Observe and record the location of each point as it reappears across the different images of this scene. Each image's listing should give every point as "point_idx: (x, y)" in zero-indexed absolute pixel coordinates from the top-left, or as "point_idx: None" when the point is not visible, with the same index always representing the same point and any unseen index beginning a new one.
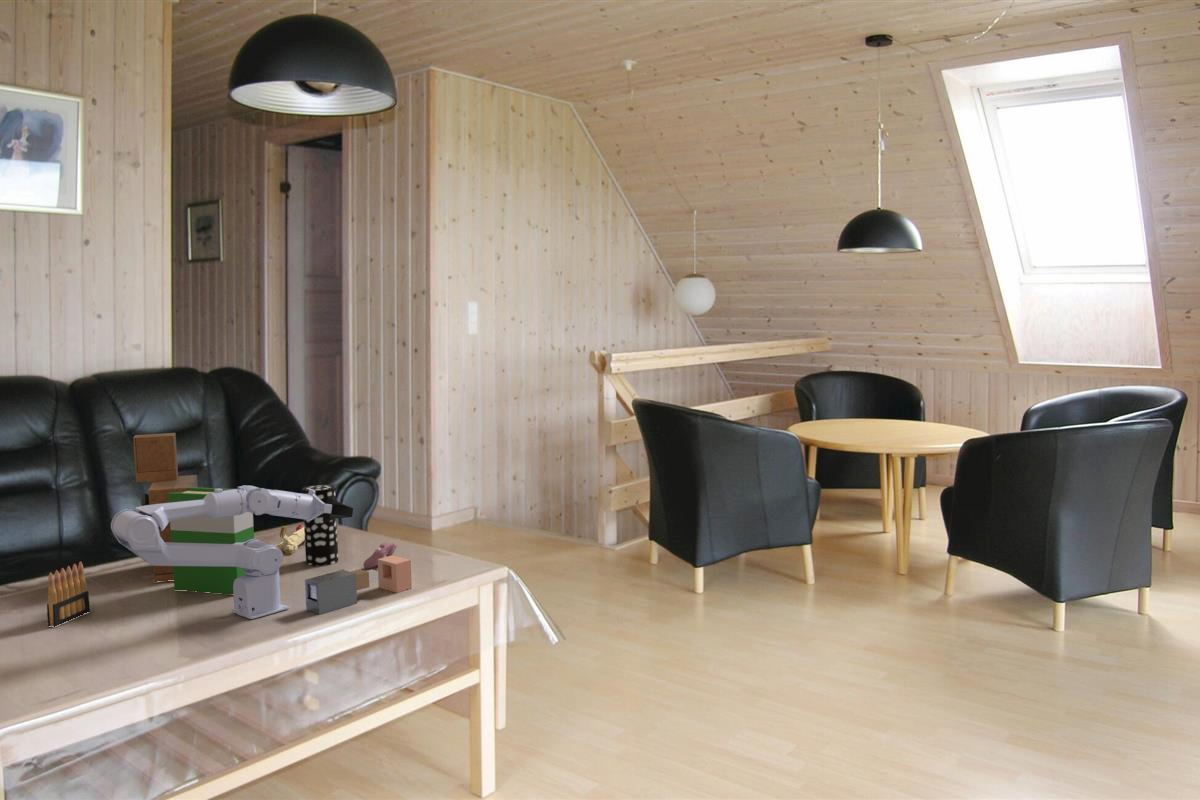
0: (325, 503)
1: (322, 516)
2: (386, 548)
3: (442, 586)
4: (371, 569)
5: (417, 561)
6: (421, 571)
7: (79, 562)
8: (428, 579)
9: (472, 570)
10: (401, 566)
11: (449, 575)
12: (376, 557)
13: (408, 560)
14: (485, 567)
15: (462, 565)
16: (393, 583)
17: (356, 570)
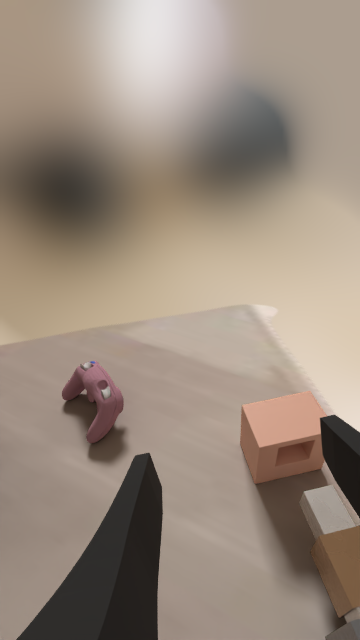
0: (131, 515)
1: (156, 584)
2: (112, 382)
3: (310, 384)
4: (304, 492)
5: (134, 360)
6: (194, 375)
7: None
8: (251, 385)
9: (241, 327)
10: None
11: (247, 355)
12: (114, 412)
13: (312, 395)
14: (236, 313)
15: (206, 327)
16: (313, 461)
17: (331, 552)
